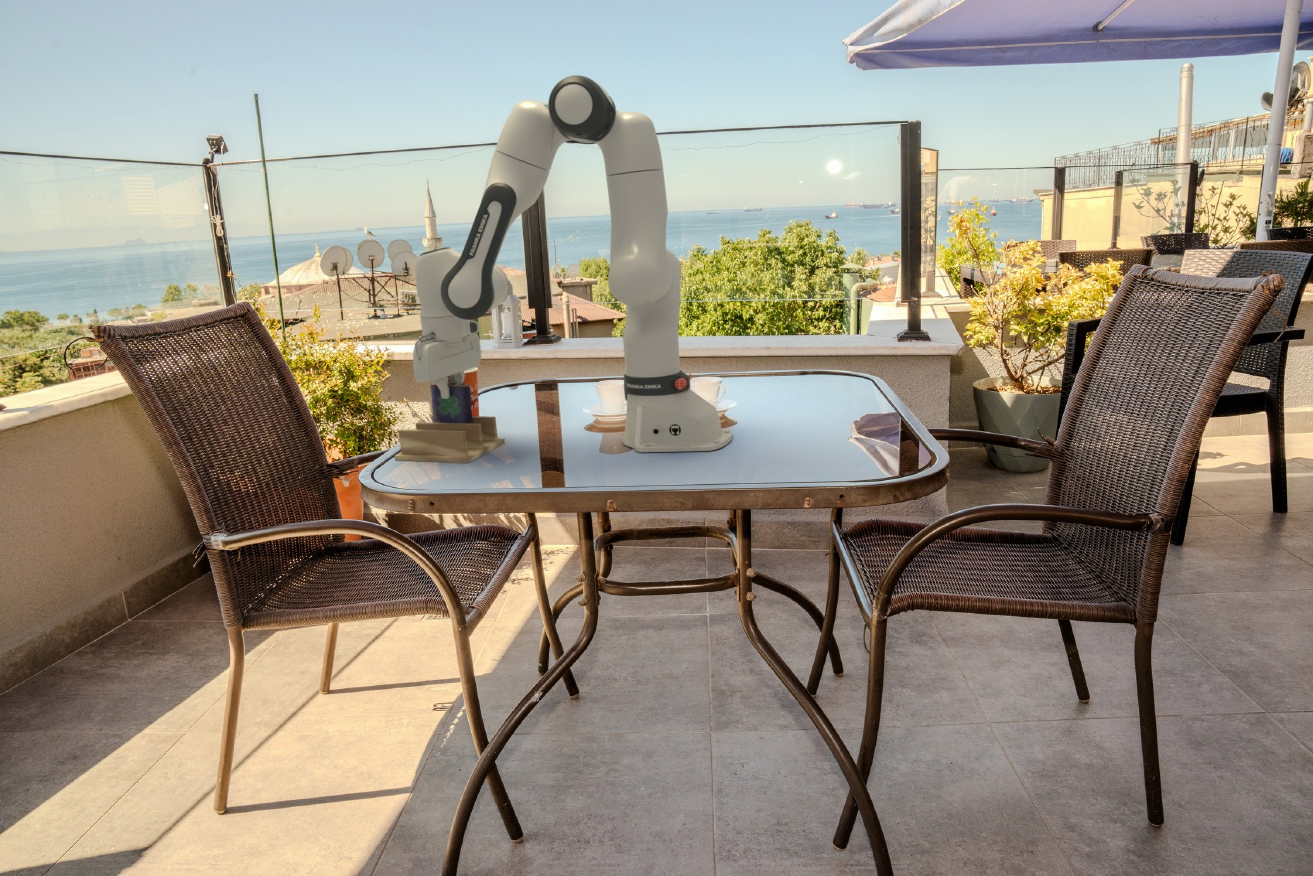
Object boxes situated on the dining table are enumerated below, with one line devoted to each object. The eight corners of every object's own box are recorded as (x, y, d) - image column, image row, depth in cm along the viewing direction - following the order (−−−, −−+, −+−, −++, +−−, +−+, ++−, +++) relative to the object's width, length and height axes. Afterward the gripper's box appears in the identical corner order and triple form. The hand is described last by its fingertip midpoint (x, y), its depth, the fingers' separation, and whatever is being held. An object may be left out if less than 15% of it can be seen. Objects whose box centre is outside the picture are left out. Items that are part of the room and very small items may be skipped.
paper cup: (476, 427, 200) (469, 367, 196) (445, 427, 202) (437, 368, 198) (489, 419, 207) (482, 361, 204) (459, 419, 209) (452, 362, 205)
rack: (436, 440, 190) (432, 414, 188) (504, 443, 184) (501, 415, 183) (395, 460, 176) (391, 431, 175) (467, 463, 171) (464, 433, 169)
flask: (430, 425, 182) (427, 375, 179) (438, 422, 185) (435, 373, 182) (469, 429, 179) (465, 378, 176) (476, 426, 182) (473, 375, 179)
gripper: (428, 337, 166) (437, 407, 170) (483, 322, 185) (490, 385, 188) (400, 337, 168) (410, 406, 172) (457, 322, 187) (464, 385, 190)
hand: (452, 395), depth 180 cm, fingers closed on flask, 3 cm apart
